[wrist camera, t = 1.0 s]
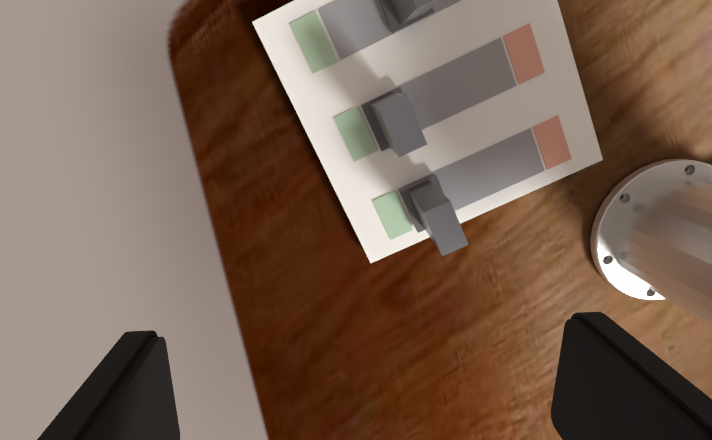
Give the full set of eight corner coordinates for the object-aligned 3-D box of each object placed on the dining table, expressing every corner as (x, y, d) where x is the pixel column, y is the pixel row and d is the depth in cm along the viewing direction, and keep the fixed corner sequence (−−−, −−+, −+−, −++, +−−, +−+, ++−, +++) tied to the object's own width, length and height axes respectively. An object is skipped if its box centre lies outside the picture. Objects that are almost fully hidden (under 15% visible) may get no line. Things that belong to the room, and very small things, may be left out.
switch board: (511, -104, 29) (524, -119, 27) (588, 156, 35) (603, 160, 33) (257, 26, 31) (251, 21, 29) (368, 254, 37) (370, 263, 35)
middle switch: (398, 86, 30) (414, 85, 24) (417, 132, 31) (438, 143, 25) (360, 105, 31) (366, 108, 24) (380, 149, 32) (391, 164, 25)
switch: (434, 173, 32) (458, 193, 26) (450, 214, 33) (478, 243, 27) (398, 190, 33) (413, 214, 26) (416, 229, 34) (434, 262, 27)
